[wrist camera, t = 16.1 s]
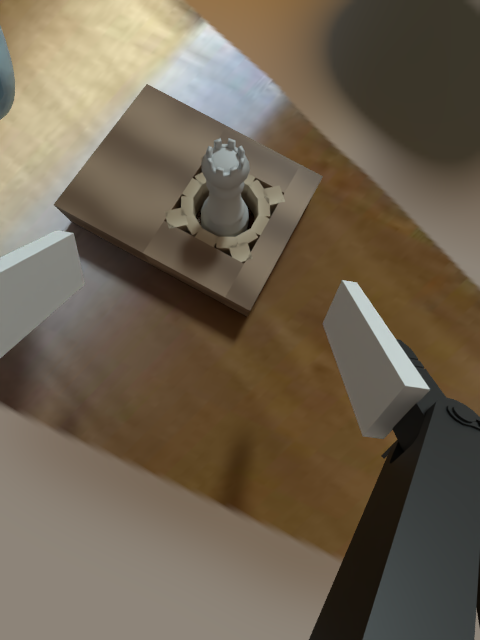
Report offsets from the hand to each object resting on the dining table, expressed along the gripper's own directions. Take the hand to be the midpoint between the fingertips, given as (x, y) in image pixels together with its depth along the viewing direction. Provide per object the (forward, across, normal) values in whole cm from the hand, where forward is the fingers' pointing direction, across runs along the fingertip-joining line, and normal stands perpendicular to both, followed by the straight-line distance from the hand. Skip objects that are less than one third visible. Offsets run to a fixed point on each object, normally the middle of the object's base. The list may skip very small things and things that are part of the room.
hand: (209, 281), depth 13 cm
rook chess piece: (+13, 0, +1) cm, 13 cm away
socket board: (+14, +3, 0) cm, 14 cm away
